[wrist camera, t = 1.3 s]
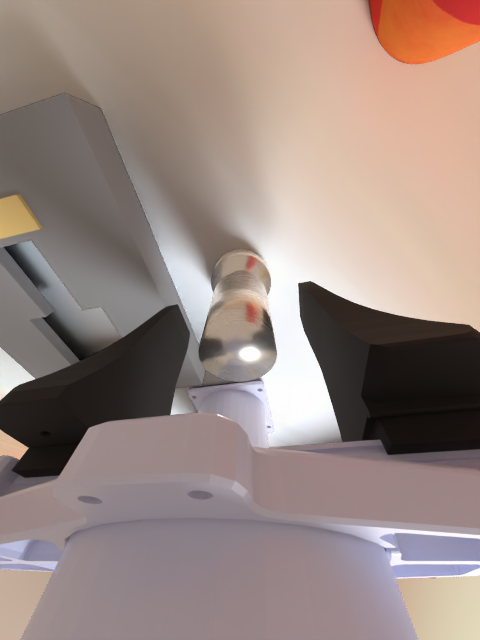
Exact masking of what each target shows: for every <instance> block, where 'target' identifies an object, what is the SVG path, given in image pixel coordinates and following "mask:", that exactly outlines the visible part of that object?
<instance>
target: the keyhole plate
mask: <svg viewBox="0 0 480 640" xmlns="http://www.w3.org/2000/svg"><path fill="white" fill-rule="evenodd" d="M30 240H32V242H33V243H34V245H35V246H36V247H37V249H38V250H39V251H40V253H41V254H42V256H43V257H44V258H45V260H46V261H47V262H48V264H49V265H50V266H51V268H52V269H53V271H54V272H55V273H56V275H57V276H58V277H59V279H60V280H61V281H62V283H63V284H64V286H65V287H66V288H67V290H68V291H69V292H70V294H71V295H72V297H73V298H74V299H75V301H76V302H77V303H78V305H79V306H80V307H81V309H82V310H86V309H92V308H97V307H102V309H103V310H104V312H105V313H106V315H107V316H108V318H109V319H110V321H111V322H112V324H113V325H114V327H115V328H116V330H117V331H118V333H119V334H120V336H121V337H122V338H123V337H124V336H126V335H127V334H129V333H130V332H132V331H133V330H134V329H136V328H137V327H139V326H140V325H141V324H143V323H144V322H145V321H147V320H148V319H149V318H151V317H152V316H153V315H155V314H156V313H158V312H159V311H160V310H162V309H163V308H165V307H167V306H171V305H176V304H178V305H179V308H180V310H181V312H182V315H183V317H184V319H185V322H186V324H187V326H188V329H189V331H190V338H189V345H188V349H187V353H186V356H185V359H184V362H183V365H182V368H181V371H180V374H179V377H178V380H177V384H176V387H175V388H182V387H191V386H200V385H202V384H203V379H204V374H205V370H206V369H205V368H204V366H203V365H202V363H201V361H200V359H199V354H198V350H199V344H198V342H197V339H196V337H195V334H194V332H193V330H192V327H191V325H190V322H189V320H188V317H187V315H186V313H185V310H184V308H183V305H182V303H181V301H180V298H179V296H178V293H177V291H176V289H175V286H174V284H173V281H172V279H171V277H170V274H169V272H168V269H167V267H166V265H165V262H164V260H163V257H162V255H161V252H160V250H159V248H158V245H157V243H156V240H155V238H154V236H153V233H152V231H151V228H150V226H149V224H148V221H147V219H146V216H145V214H144V212H143V209H142V207H141V204H140V202H139V199H138V197H137V195H136V192H135V190H134V187H133V185H132V183H131V180H130V178H129V175H128V173H127V171H126V168H125V166H124V163H123V161H122V159H121V156H120V154H119V151H118V149H117V146H116V144H115V142H114V139H113V137H112V134H111V132H110V130H109V127H108V125H107V122H106V120H105V118H104V115H103V113H102V110H101V108H99V107H97V106H94V105H92V104H90V103H87V102H85V101H83V100H81V99H78V98H76V97H74V96H71V95H69V94H67V93H62V94H60V95H57V96H54V97H51V98H48V99H45V100H42V101H39V102H36V103H33V104H30V105H27V106H24V107H22V108H19V109H16V110H13V111H10V112H7V113H4V114H1V115H0V347H1V348H2V349H3V350H4V351H5V352H6V353H8V354H9V355H10V356H11V357H12V358H13V359H14V360H15V361H16V362H18V363H19V364H20V365H21V366H22V367H23V368H24V369H25V370H26V371H28V372H29V373H30V374H31V375H32V376H33V377H34V378H35V379H37V378H40V377H43V376H46V375H48V374H51V373H53V372H56V371H58V370H61V369H63V368H66V367H68V366H70V365H72V364H75V363H77V362H79V361H80V360H79V359H78V358H77V357H76V356H75V355H74V353H73V352H72V351H71V350H70V349H69V348H68V347H67V345H66V344H65V343H64V342H63V341H62V340H61V339H60V337H59V336H58V335H57V334H56V333H55V332H54V331H53V330H52V328H51V327H50V326H49V325H48V324H47V323H46V322H45V320H44V319H43V318H42V317H47V316H48V315H50V314H51V313H52V312H54V311H55V310H54V308H53V307H52V306H51V305H50V304H49V302H48V301H47V300H46V299H45V297H44V296H43V295H42V294H41V293H40V291H39V290H38V289H37V288H36V286H35V285H34V284H33V283H32V282H31V280H30V279H29V278H28V277H27V275H26V274H25V273H24V272H23V271H22V269H21V268H20V267H19V266H18V264H17V263H16V262H15V261H14V260H13V258H12V257H11V256H10V255H9V253H8V252H7V251H6V250H5V249H4V247H5V246H9V245H13V244H18V243H22V242H26V241H30Z"/></svg>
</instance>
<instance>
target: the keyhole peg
mask: <svg viewBox="0 0 480 640" xmlns="http://www.w3.org/2000/svg"><path fill="white" fill-rule="evenodd" d="M211 286H212V290H213V293H214V294H213V297H212V301H211V305H210V308H209V312H208V316H207V320H206V323H205V327H204V331H203V334H202V338H201V342H200V345H199V350H198V354H199V359H200V361H201V363H202V365H203V366H204V368H205V369H206V370H207V371H208V372H210V373H211V374H212V375H214V376H216V377H218V378H221V379H224V380H227V381H234V382H244V381H250V380H254V379H257V378H259V377H261V376H263V375H265V374H266V373H267V372H268V371H269V370H270V369H271V368H272V367H273V365H274V363H275V361H276V357H277V350H276V344H275V338H274V333H273V327H272V321H271V315H270V309H269V303H268V297H267V295H268V293H269V291H270V287H271V278H270V274H269V269H268V266H267V264H266V262H265V261H264V260H263V258H262V257H261V256H259V255H258V254H257V253H255V252H253V251H250V250H245V249H237V250H233V251H230V252H228V253H226V254H224V255H223V256H222V257H221V258H220V259H219V260H218V262H217V263H216V265H215V268H214V271H213V274H212V278H211Z"/></svg>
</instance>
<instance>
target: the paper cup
mask: <svg viewBox="0 0 480 640" xmlns="http://www.w3.org/2000/svg"><path fill="white" fill-rule="evenodd" d="M370 9H371V17H372V22H373V26H374V30H375V33H376V35H377V38H378V40H379V42H380V44H381V45H382V47H383V48H384V49H385V51H386V52H387V53H388V54H389V55H390V56H392V57H393V58H394V59H396V60H398V61H400V62H403V63H407V64H422V63H427V62H431V61H434V60H437V59H439V58H442V57H444V56H447V55H449V54H452V53H454V52H456V51H458V50H461V49H463V48H465V47H467V46H470V45H472V44H474V43H476V42H479V41H480V0H370Z"/></svg>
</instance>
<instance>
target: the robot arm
mask: <svg viewBox="0 0 480 640" xmlns="http://www.w3.org/2000/svg"><path fill="white" fill-rule="evenodd" d="M298 286H299V304H300V317H301V321H302V324H303V328H304V331H305V334H306V336H307V338H308V340H309V343H310V345H311V347H312V349H313V352H314V354H315V356H316V358H317V360H318V363H319V365H320V368H321V370H322V373H323V376H324V379H325V383H326V386H327V389H328V392H329V396H330V399H331V402H332V405H333V409H334V412H335V416H336V419H337V423H338V426H339V430H340V434H341V437H342V441H343V442H339V443H325V444H311V445H297V446H283V447H270V448H268V437H267V434H268V433H273V432H274V427H273V422H272V418H271V413H270V409H269V404H268V400H267V395H266V390H265V386H264V383H263V382H262V381H252V382H244V383H235V384H226V385H218V386H209V387H200V388H192V389H189V391H188V395H189V397H190V399H191V401H192V403H193V404H194V406H195V408H196V410H197V412H198V413H187V414H177V415H170V413H171V407H172V402H173V397H174V392H175V387H176V384H177V380H178V377H179V374H180V371H181V368H182V365H183V362H184V359H185V356H186V353H187V349H188V345H189V338H190V331H189V329H188V326H187V324H186V322H185V319H184V317H183V315H182V312H181V310H180V308H179V305H178V304H176V305H171V306H167V307H165V308H163V309H162V310H160V311H159V312H158V313H156V314H155V315H153V316H152V317H151V318H149V319H148V320H147V321H145V322H144V323H143V324H141V325H140V326H139V327H137V328H136V329H134V330H133V331H132V332H130V333H129V334H127V335H126V336H124V337H123V338H121V339H120V340H118V341H117V342H115V343H113V344H112V345H110V346H108V347H106V348H105V349H103V350H101V351H99V352H97V353H95V354H93V355H91V356H89V357H87V358H85V359H83V360H81V361H79V362H77V363H75V364H72V365H70V366H68V367H66V368H63V369H61V370H58V371H56V372H53V373H51V374H48V375H46V376H43V377H40V378H37V379H35V380H32V381H29V382H26V383H24V384H21V385H18V386H17V387H15V388H13V389H12V390H11V391H10V392H9V393H8V394H7V395H6V396H5V397H4V398H3V399H2V400H0V429H1V430H2V431H3V432H5V433H6V434H8V435H9V436H11V437H13V438H14V439H16V440H17V441H19V442H20V443H22V444H24V445H25V446H27V447H28V448H29V447H30V448H29V449H28V450H27V451H26V453H25V454H24V455H23V456H22V458H21V459H20V460H18V459H17V458H14V457H11V456H6V455H1V456H0V569H3V570H26V571H47V572H53V573H52V576H51V578H50V580H49V582H48V584H47V586H46V588H45V590H44V592H43V594H42V596H41V598H40V600H39V602H38V605H37V607H36V609H35V611H34V613H33V615H32V617H31V619H30V621H29V623H28V625H27V627H26V629H25V631H24V633H23V635H22V638H21V640H418V638H417V635H416V632H415V630H414V627H413V624H412V622H411V619H410V616H409V613H408V611H407V608H406V605H405V602H404V600H403V597H402V594H401V592H400V589H399V586H398V584H397V581H396V579H397V578H423V577H454V576H480V332H478V331H477V330H475V329H474V328H473V327H471V326H470V325H465V324H455V323H445V322H436V321H427V320H421V319H415V318H409V317H404V316H399V315H394V314H390V313H386V312H382V311H378V310H374V309H371V308H368V307H365V306H362V305H359V304H356V303H354V302H351V301H349V300H346V299H344V298H342V297H340V296H338V295H336V294H334V293H332V292H330V291H328V290H326V289H324V288H322V287H321V286H319V285H317V284H315V283H313V282H311V281H309V282H303V283H298Z"/></svg>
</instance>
